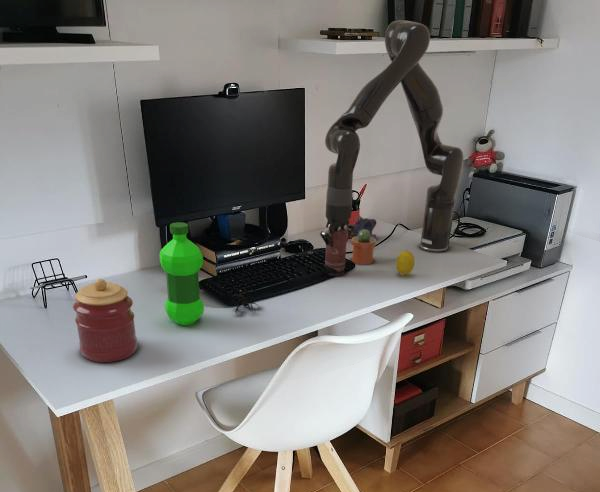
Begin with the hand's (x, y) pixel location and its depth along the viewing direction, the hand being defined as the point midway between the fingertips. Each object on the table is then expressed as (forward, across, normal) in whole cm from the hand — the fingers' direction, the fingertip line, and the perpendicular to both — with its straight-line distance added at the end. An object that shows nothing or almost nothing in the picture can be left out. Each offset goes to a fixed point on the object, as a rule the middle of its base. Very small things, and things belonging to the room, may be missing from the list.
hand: (335, 258), depth 199 cm
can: (+5, 0, 0) cm, 5 cm away
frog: (+5, +32, +17) cm, 36 cm away
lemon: (+5, +15, -15) cm, 22 cm away
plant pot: (+5, +15, +2) cm, 16 cm away
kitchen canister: (+4, -78, -1) cm, 78 cm away
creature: (+4, -39, -4) cm, 40 cm away
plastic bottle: (+4, -55, +1) cm, 55 cm away
